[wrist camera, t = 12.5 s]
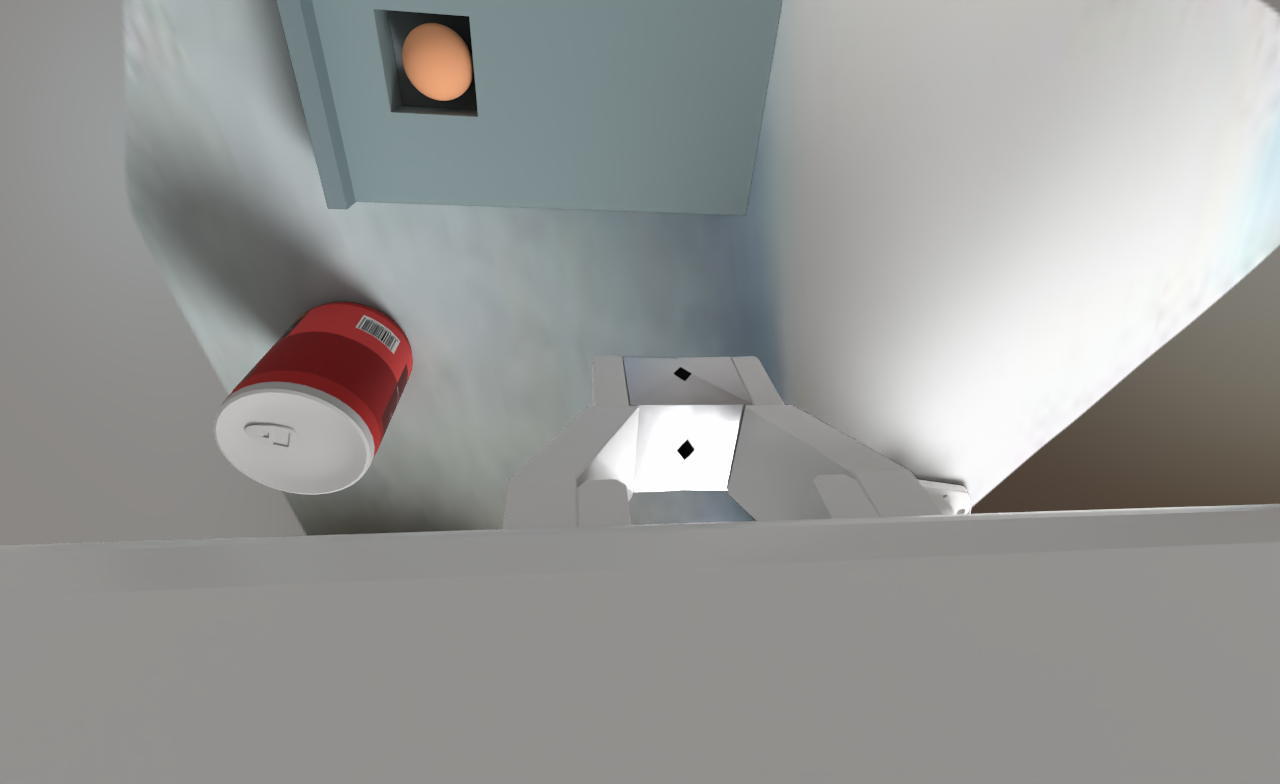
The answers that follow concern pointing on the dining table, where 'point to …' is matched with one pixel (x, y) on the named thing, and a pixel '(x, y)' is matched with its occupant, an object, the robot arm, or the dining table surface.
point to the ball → (437, 61)
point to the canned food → (317, 401)
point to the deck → (543, 104)
